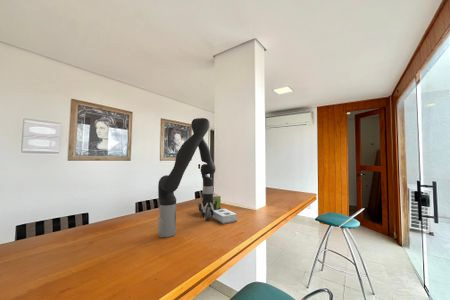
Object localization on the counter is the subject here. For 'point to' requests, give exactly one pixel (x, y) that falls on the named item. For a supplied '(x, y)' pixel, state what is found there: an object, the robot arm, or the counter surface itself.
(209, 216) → the pin
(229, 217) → the bore block
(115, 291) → the counter surface
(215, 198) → the tea box
